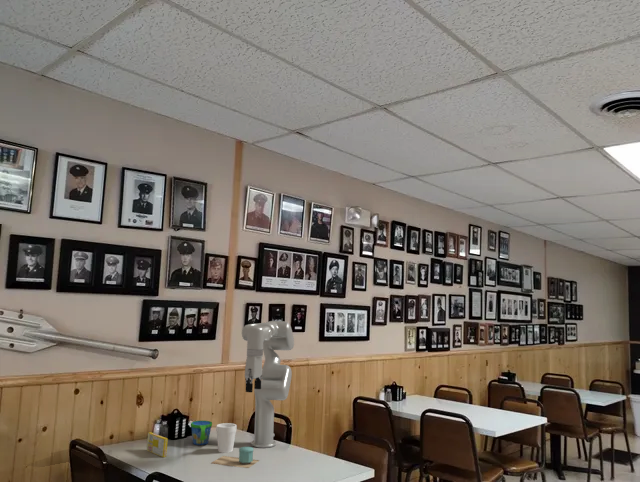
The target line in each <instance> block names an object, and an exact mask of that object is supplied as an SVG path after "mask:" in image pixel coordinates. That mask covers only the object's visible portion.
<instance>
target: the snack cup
mask: <svg viewBox="0 0 640 482" xmlns="http://www.w3.org/2000/svg"><path fill="white" fill-rule="evenodd" d="M212 426H213V422H212V421H210V420H196V421H195V420H194V421H192V422H191V423H190V428H191V435H192V436H191V437H192V443H193V444H194V445H197V446H204V445H207V444H209V440H210V435H211V431H212V430H211V429H212Z"/></svg>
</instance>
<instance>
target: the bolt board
mask: <svg viewBox="0 0 640 482" xmlns="http://www.w3.org/2000/svg"><path fill="white" fill-rule="evenodd" d="M260 461H261V460H260V459H253V461H252V462H249V463H242V462H239V457H236V456H229V455H228V456H227V455H222V456H220V457H219V458H217V459H215V460H213V461H212V462H210V464H211V465H212V464H214V465H220V466H227V467H237V468H242V469H243V468H244V469H250V468H251V467H252V466H254V465H255V464H257V463H258V462H260Z"/></svg>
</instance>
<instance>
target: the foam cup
mask: <svg viewBox="0 0 640 482" xmlns="http://www.w3.org/2000/svg"><path fill="white" fill-rule="evenodd" d="M237 427H238V426H237V424H235V423H233V422H232V423H231V422H229V423H228V422H225V423H218V424H216V427H215V428H216V438H217V439H216V440H217V450H218V451H217V452H219V453H222V454H225V453H226V454H228V453H231V452H233V450H234V445H235V440H236V439H235V438H236V433H237Z"/></svg>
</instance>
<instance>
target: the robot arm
mask: <svg viewBox="0 0 640 482" xmlns="http://www.w3.org/2000/svg"><path fill="white" fill-rule="evenodd" d="M241 330H242V331H241V337H242V339H243V340H244V341H246V342H247V343H246V361H245V368H244V378H245V392H246V393H253V391H254V398H255V399H254V400H255V403H254V405H255V407H254V409H255V410H254V411H255V415H254V434H253V435H254V437H253V440H251V442H250V446H251V447H253V448H263V449H266V448H272V447H275V446H276V445H277V441H276V440H274V437H275V433H274V428H275V427H274V426H275V425H274V422H275V407H274V405H273V403H272V402H271V401H285V400H287V399H288V396H289V391H290V387H291V382H292V375H293V374H292V373H293V372H292V368H291V367H290V366H289V365H287V364H281V360H282V359H281V357H280V356H279V354H278V353H277V352H276V351H291V350H293V348H294V345H295V338H294V334H293V330H292V326H291V324H290V322H288V321H283V320H282V321H279V320H276V321H275V320H270V321H266V322H261V323H260V322H259V323H250V324H245V325H244V326H243V328H242V329H241ZM263 357H264V363H263ZM253 381H254V383H253ZM253 386H254V390H253Z"/></svg>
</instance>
